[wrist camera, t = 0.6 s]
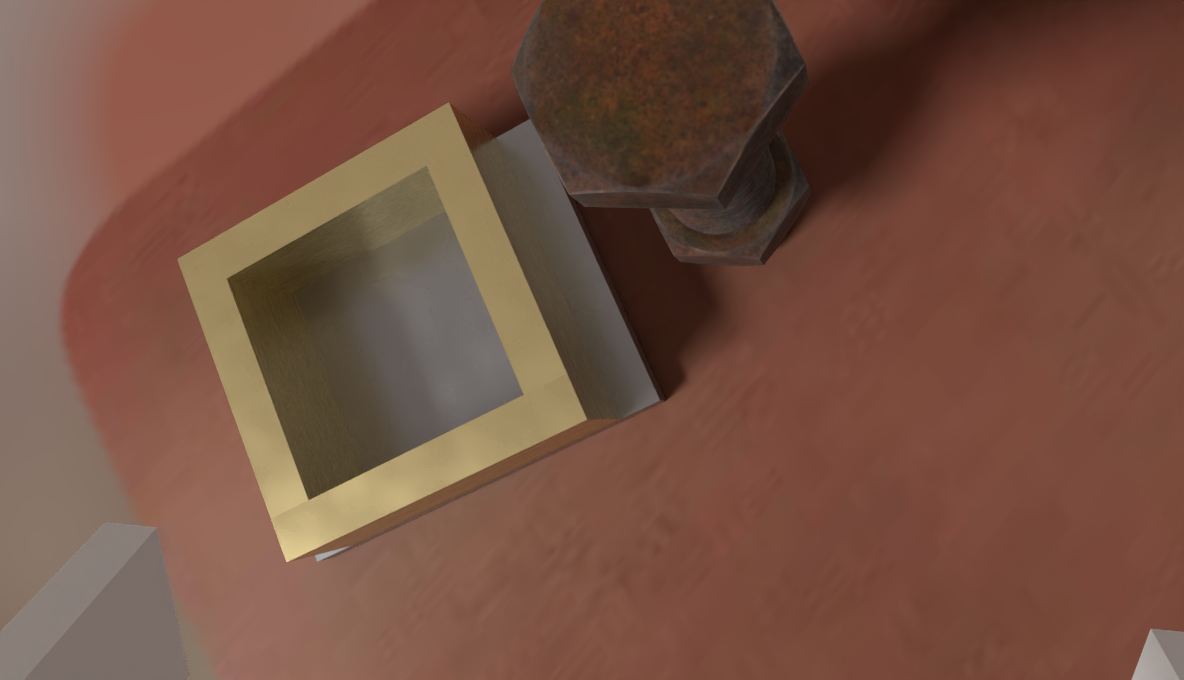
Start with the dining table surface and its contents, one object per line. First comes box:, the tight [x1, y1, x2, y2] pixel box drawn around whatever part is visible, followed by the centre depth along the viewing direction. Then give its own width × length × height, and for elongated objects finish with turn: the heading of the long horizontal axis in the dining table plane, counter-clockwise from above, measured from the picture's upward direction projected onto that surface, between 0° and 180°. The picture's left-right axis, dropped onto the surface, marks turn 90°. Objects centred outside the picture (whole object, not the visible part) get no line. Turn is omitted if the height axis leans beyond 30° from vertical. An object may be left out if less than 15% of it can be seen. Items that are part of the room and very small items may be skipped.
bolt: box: [511, 0, 811, 266], centre depth 25 cm, size 6×5×15 cm
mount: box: [178, 103, 666, 562], centre depth 33 cm, size 14×11×5 cm
